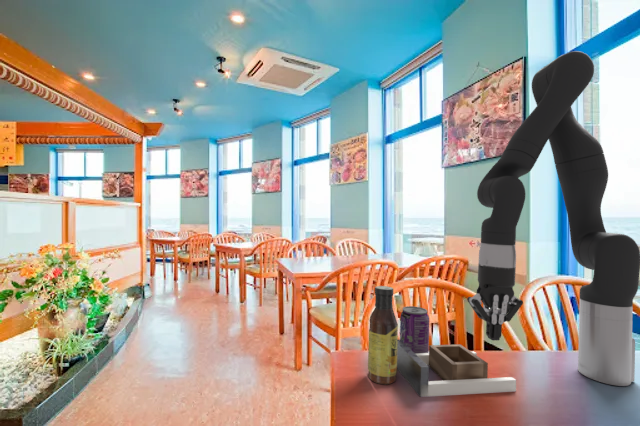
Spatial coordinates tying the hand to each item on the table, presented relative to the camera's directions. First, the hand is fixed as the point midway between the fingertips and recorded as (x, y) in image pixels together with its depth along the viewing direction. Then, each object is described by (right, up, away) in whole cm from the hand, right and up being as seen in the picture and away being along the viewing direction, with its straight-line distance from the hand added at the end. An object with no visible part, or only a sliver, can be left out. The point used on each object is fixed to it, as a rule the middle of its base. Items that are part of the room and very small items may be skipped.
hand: (493, 339), depth 74 cm
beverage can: (-16, -8, +8) cm, 20 cm away
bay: (-11, -8, -2) cm, 13 cm away
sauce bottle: (-26, -8, -3) cm, 27 cm away
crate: (-9, -8, -2) cm, 12 cm away
